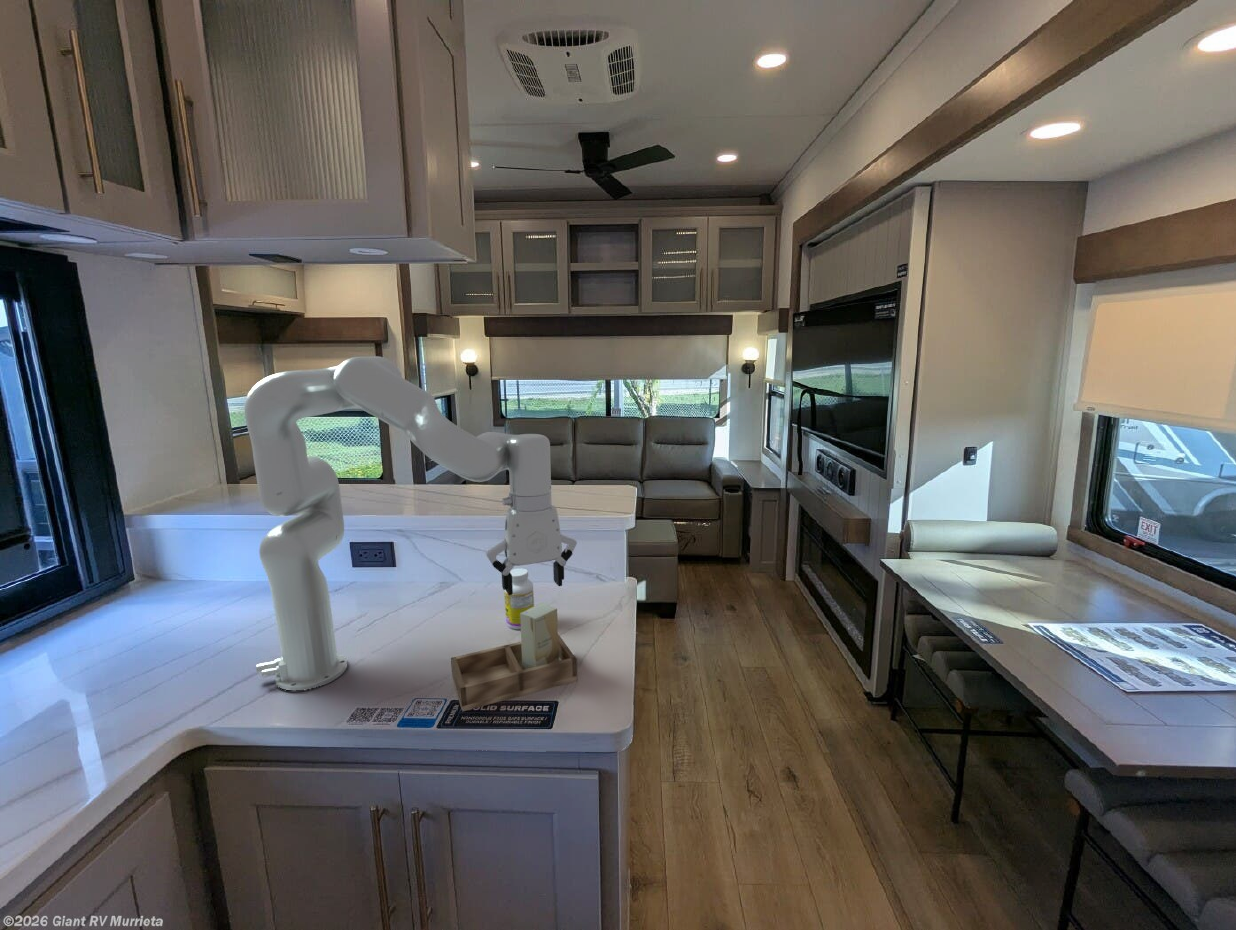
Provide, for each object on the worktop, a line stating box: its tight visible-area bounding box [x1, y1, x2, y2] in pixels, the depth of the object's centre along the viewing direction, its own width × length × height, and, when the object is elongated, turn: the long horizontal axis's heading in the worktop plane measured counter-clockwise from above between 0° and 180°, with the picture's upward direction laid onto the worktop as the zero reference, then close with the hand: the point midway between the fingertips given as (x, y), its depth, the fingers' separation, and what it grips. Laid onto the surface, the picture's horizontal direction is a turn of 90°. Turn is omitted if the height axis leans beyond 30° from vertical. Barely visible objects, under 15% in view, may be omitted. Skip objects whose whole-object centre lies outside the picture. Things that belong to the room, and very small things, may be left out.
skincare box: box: [520, 602, 559, 670], centre depth 111 cm, size 6×4×12 cm
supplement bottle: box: [503, 568, 535, 630], centre depth 131 cm, size 7×7×13 cm
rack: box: [450, 633, 578, 712], centre depth 109 cm, size 22×11×4 cm, turn 114°
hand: (533, 587), depth 108 cm, fingers open, 9 cm apart
